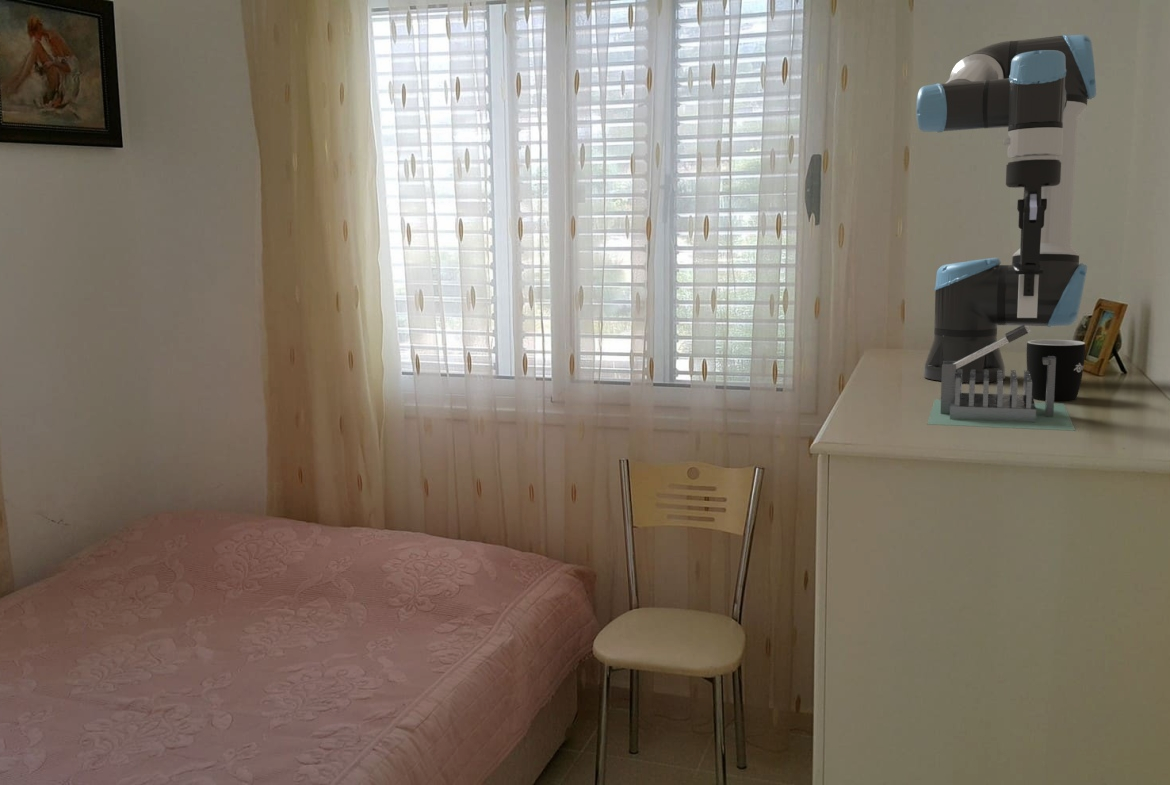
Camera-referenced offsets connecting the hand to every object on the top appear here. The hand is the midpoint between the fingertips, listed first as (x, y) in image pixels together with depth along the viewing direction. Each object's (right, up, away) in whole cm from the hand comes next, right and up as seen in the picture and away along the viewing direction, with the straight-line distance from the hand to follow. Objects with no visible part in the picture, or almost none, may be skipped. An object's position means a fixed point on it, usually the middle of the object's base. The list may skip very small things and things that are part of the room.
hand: (1027, 317), depth 155 cm
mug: (+12, -13, +18) cm, 25 cm away
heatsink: (-4, -15, +4) cm, 16 cm away
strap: (-5, -5, +3) cm, 8 cm away
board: (-3, -15, +4) cm, 16 cm away
